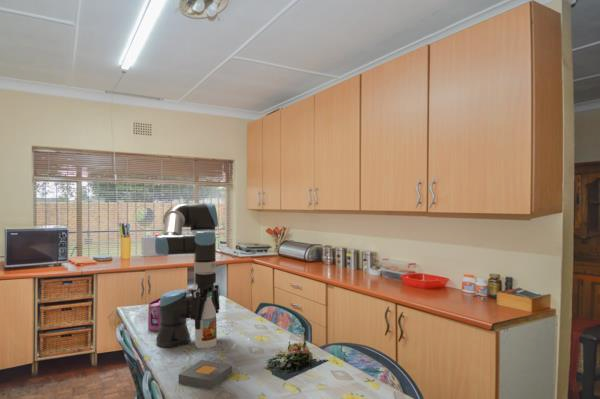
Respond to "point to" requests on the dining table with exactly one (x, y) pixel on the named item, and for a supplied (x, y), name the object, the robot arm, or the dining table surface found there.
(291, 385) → the dining table surface
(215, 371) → the grey square slab
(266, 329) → the dining table surface
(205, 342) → the milk bottle
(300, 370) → the plated dish
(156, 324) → the gum box
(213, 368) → the button
